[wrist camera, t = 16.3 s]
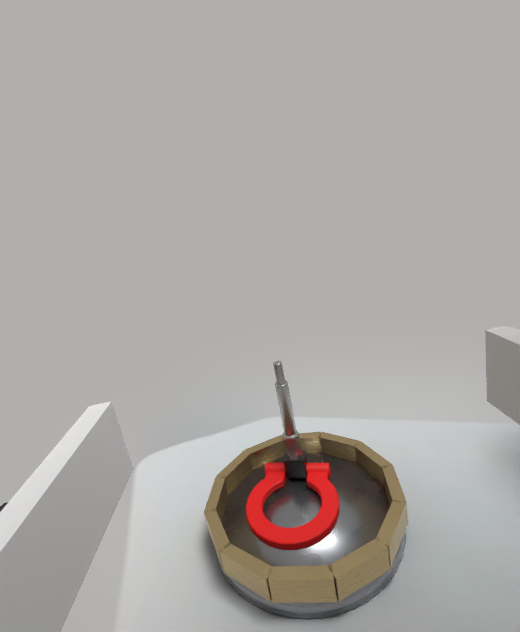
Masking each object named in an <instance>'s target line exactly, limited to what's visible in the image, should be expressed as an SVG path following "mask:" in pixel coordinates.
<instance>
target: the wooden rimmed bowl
mask: <svg viewBox="0 0 520 632" xmlns="http://www.w3.org/2000/svg"><path fill="white" fill-rule="evenodd" d="M299 436H300V442H301V448H302V450H306V455H307V461H308V463H330V468H331V477H330V478H329V481H330V482H331V483H332V484H333V486H334V487H335V489H336V491H337V494H338V497H339V508H340V512H339V516H338V520H337V523H336V524H335V526H334V527H333V529H332V530H331V532H330V533H329V534H328V535H327V536H325V537H324V538H323V539H322V540H321V541H319V542H317V543H315V544H313V545H311V546H309V547H306V548H301V549H297V550H281V549H278V548H274V547H271V546H268V545H266V544H265V543H263V542H262V541H260V540H259V539H258V538H257V537H256V536H255V535H254V534H253V532H252V531H251V529H250V526H249V524H248V521H247V517H246V504H247V500H248V497H249V495H250V493H251V492H252V490H253V488H254V487H255V486H256V485H257V484H258V483H259V482H260V481H261V480H263V479H264V478H265V464H266V463H284V461H283V459H284V455H285V451H286V449H285V445H284V440H283V435H282V436H281V435H280V436H278V437H275V438H273V439H270V440H268V441H265V442H263V443H260V444H258V445H256V446H253V447H251V448H248V449H246V450H245V451H243V452H242V453H241V454H240V455H239V456H237V457H236V458H235V459H234V460H233V461H232V462H231V463H230V464H229V465H228V466H227V467H226V468H224V469H223V470H222V471H221V472H220V473H219V474H218V475H217V477H216V478H215V481H214V484H213V487H212V490H211V493H210V496H209V499H208V502H207V505H206V508H205V511H204V514H205V518H206V522H207V527H208V531H209V534H210V536H211V539H212V542H213V545H214V547H215V551H216V555H217V559H218V562H219V565H220V568H221V570H222V572H223V574H224V576H225V577H226V579H227V580H228V582H229V583H230V585H231V586H232V587H233V588H234V589H235V590H236V591H237V592H238V593H239V594H240V595H241V596H242V597H243V598H245V599H246V600H247V601H249V602H250V603H252V604H253V605H255V606H257V607H259V608H261V609H262V610H265V611H268V612H270V613H273V614H276V615H280V616H285V617H289V618H299V619H316V618H326V617H330V616H335V615H339V614H342V613H345V612H347V611H350V610H353V609H355V608H357V607H359V606H360V605H362V604H364V603H366V602H368V601H369V600H370V599H371V598H373V597H374V596H375V595H377V594H378V593H379V592H380V591H381V590H382V589H383V588H384V587H385V586H386V585H387V584H388V583H389V581H390V580H391V578H392V577H393V575H394V574H395V572H396V571H397V568H398V566H399V564H400V562H401V559H402V556H403V552H404V547H405V530H406V527H407V524H408V518H407V505H406V500H405V497H404V494H403V492H402V489H401V486H400V484H399V481H398V478H397V475H396V473H395V470H394V467H393V465H392V464H391V463H389V462H388V461H387V460H385V459H384V458H383V457H381V456H380V455H379V454H377V453H376V452H375V451H373V450H372V449H370V448H369V447H368V446H366V445H365V444H364V443H362V442H360V441H358V440H353V439H349V438H345V437H341V436H337V435H333V434H328V433H324V432H322V433H321V432H313V433H300V434H299ZM321 505H322V500H321V497H320V496H319V495H318V493H317V492H316V491H315V490H313V489H312V488H310V487H308V485H307V479H288V478H287V477H286V479H285V484H284V486H283V487H281V488H278V489H277V490H275V491H274V492H272V493H271V494H270V496H269V497H268V498H267V500H266V502H265V503H264V508H263V513H264V515H265V517H266V518H267V519H268V520H269V521H270V522H271V523H273V524H275V525H276V526H280V527H284V528H294V527H299V526H302V525H304V524H306V523H308V522H310V521H311V520H312V519H313V518H315V517H316V515H317V514H318V512H319V511H320V508H321Z"/></svg>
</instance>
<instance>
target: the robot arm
mask: <svg viewBox="0 0 520 632" xmlns="http://www.w3.org/2000/svg"><path fill="white" fill-rule="evenodd" d="M485 331H486V332H485V333H486V377H487V401H488V402H489V403H491V404H492V405H493V406H495V407H496V408H498V409H499V410H500V411H502V412H503V413H504V414H506V415H507V416H508V417H510V418H511V419H513V420H514V421H515V422H517V423H518V424H519V425H520V330H517V329H515V328H512V327H510V326H503V327H497V328H492V329H487V330H485ZM132 471H133V466H132V463H131V460H130V457H129V454H128V451H127V448H126V444H125V442H124V438H123V435H122V432H121V429H120V426H119V423H118V420H117V417H116V414H115V411H114V408H113V405H112V402H107V403H102V404H96V405H91V406H89V407H88V408H87V410H86V411H85V412H84V413H83V414H82V416H81V417H80V418H79V419H78V420H77V422H76V423H75V424H74V425H73V426H72V427H71V429H70V430H69V431H68V432H67V433H66V435H65V436H64V437H63V438H62V439H61V441H60V442H59V443H58V444H57V445H56V446H55V448H54V449H53V450H52V451H51V452H50V454H49V455H48V456H47V457H46V458H45V460H44V461H43V462H42V463H41V464H40V466H39V467H38V468H37V469H36V470H35V471H34V473H33V474H32V475H31V476H30V477H29V479H28V480H27V481H26V482H25V483H24V485H23V486H22V487H21V488H20V489H19V491H18V492H17V493H16V494H15V495H14V496H13V498H12V499H11V500H10V501H9V502H8V503H4V504H3V505H2V506H0V632H61V629H62V627H63V625H64V623H65V620H66V618H67V616H68V614H69V612H70V609H71V607H72V605H73V603H74V600H75V598H76V596H77V593H78V591H79V589H80V587H81V585H82V582H83V580H84V578H85V576H86V573H87V571H88V569H89V567H90V565H91V562H92V560H93V558H94V556H95V553H96V551H97V549H98V547H99V544H100V542H101V540H102V538H103V536H104V533H105V531H106V529H107V526H108V524H109V522H110V520H111V517H112V515H113V513H114V511H115V509H116V506H117V504H118V502H119V500H120V498H121V495H122V493H123V491H124V489H125V486H126V484H127V482H128V479H129V477H130V475H131V473H132Z"/></svg>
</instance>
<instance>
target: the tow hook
mask: <svg viewBox="0 0 520 632" xmlns="http://www.w3.org/2000/svg"><path fill="white" fill-rule="evenodd" d="M274 369H275V374H276V380H277V382H276V383H275V386H276V392H277V397H278V402H279V407H280V413H281V418H282V423H283V428H284V433H283V440H284V445H285V449H286V451H285V455H284V459H283V461H284V463H266V464H265V478H264V479H263V480H261V481H260V482H259V483H258V484H257V485H256V486H255V487H254V488H253V490H252V492H251V493H250V495H249V497H248V500H247V504H246V517H247V521H248V524H249V526H250V529H251V531H252V532H253V534H254V535H255V536H256V537H257V538H258V539H259V540H260V541H262V542H263V543H265V544H266V545H268V546H271V547H274V548H278V549H281V550H297V549H301V548H306V547H309V546H311V545H313V544H315V543H317V542H319V541H321V540H322V539H323V538H324V537H325V536H327V535H328V534H329V533H330V532H331V530H332V529H333V527H334V526H335V524H336V523H337V520H338V516H339V512H340V508H339V497H338V494H337V491H336V489H335V487H334V486H333V484H332V483H331V482H330V481H329V478H330V477H331V468H330V463H308V461H307V455H306V450H302V448H301V442H300V436H299V433H298V432H297V430H296V427H295V421H294V416H293V410H292V405H291V399H290V394H289V388H288V383H287V381H286V380H285V378H284V373H283V367H282V362H281V361H276V362H274ZM286 477H287V478H288V479H307V485H308V487H310V488H312V489H313V490H315V491H316V492H317V493H318V495H319V496H320V497H321V500H322V505H321V508H320V511H319V512H318V514H317V515H316V517H315V518H313V519H312V520H311V521H310V522H308V523H306V524H304V525H302V526H299V527H294V528H284V527H280V526H276V525H275V524H273V523H271V522H270V521H269V520H268V519H267V518H266V517H265V515H264V513H263V508H264V503H265V502H266V500H267V498H268V497H269V496H270V494H271V493H272V492H274V491H275V490H277V489H278V488H281V487H283V486H284V484H285V479H286Z"/></svg>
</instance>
